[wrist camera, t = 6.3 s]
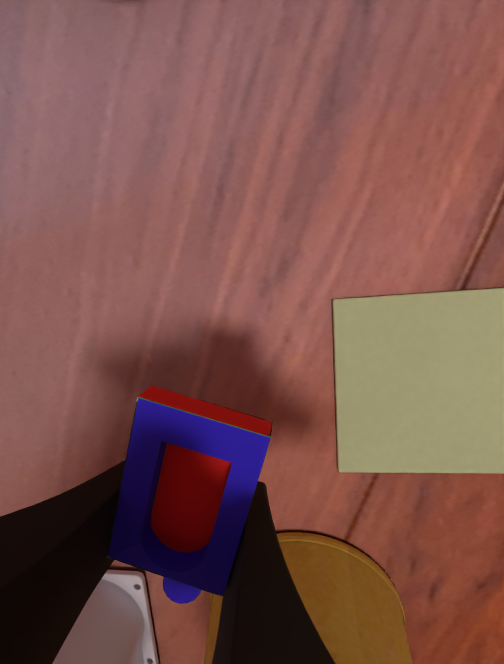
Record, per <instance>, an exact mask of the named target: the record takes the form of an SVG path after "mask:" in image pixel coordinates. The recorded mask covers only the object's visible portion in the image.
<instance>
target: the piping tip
mask: <svg viewBox="0 0 504 664" xmlns="http://www.w3.org/2000/svg"><path fill="white" fill-rule="evenodd" d="M277 538H278V541H279V544H280V547H281V550H282V553H283V556H284V559H285V561H286V564H287V567H288V569H289V572H290V574H291V577H292V579H293V582H294V584H295V586H296V589H297V591H298V593H299V595H300V597H301V600H302V602H303V604H304V606H305V608H306V610H307V612H308V614H309V616H310V618H311V620H312V622H313V624H314V625H315V627H316V629H317V631H318V633H319V635H320V637H321V639H322V641H323V643H324V644H325V646H326V648H327V650H328V651H329V653H330V655H331V656H332V658H333V660H334V662H335V663H336V664H412V659H411V654H410V650H409V645H408V640H407V635H406V631H405V629H406V628H405V615H404V609H403V606H402V603H401V600H400V597H399V595H398V593H397V590H396V588H395V587H394V585H393V583H392V582H391V580H390V579H389V577H388V576H387V575H386V573H385V572H384V571H383V570H382V569H381V568H380V567H379V566H378V565H377V564H376V563H375V562H374V561H373V560H371V559H370V558H369V557H368V556H366V555H365V554H363V553H362V552H360V551H359V550H357V549H355V548H354V547H352V546H350V545H348V544H346V543H343V542H341V541H338V540H336V539H333V538H330V537H326V536H322V535H317V534H311V533H300V532H288V533H278V534H277ZM222 599H223V597H221V596H219V595H216V594H213V593H211V594H210V618H209V626H208V634H207V642H206V650H205V658H204V664H212V659H213V655H214V650H215V645H216V639H217V633H218V627H219V620H220V613H221V606H222Z"/></svg>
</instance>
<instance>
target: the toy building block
mask: <svg viewBox="0 0 504 664" xmlns="http://www.w3.org/2000/svg"><path fill="white" fill-rule="evenodd" d="M272 423H273V422H272V421H269V420H265V419H262V418H259V417H255V416H252V415H249V414H245V413H242V412H239V411H235V410H232V409H229V408H225V407H222V406H219V405H215V404H212V403H209V402H205V401H202V400H199V399H195V398H192V397H189V396H185V395H182V394H179V393H175V392H172V391H168V390H165V389H162V388H158V387H155V386H150V387H149V388H148V389H147V390H145V391H144V392H143V393H142V394H140V395H139V396H138V397H137V402H136V408H135V413H134V418H133V423H132V429H131V434H130V439H129V444H128V449H127V455H126V460H125V465H124V470H123V476H122V481H121V486H120V491H119V496H118V502H117V507H116V512H115V517H114V523H113V528H112V533H111V538H110V543H109V549H108V554H107V557H108V558H111V559H114V560H117V561H120V562H123V563H126V564H129V565H132V566H134V567H137V568H140V569H143V570H146V571H149V572H152V573H155V574H158V575H161V576H163V577H164V579H163V589H164V591H165V593H166V595H167V597H168V598H170V599H171V600H172V601H173V602H176V603H179V604H182V603H189V602H191V601H193V600H195V599H196V598H197V597H198V596H199V594H200V592H201V590H204V591H207V592H210V593H213V594H216V595H219V596H221V597H223V595H224V592H225V589H226V585H227V582H228V579H229V575H230V572H231V569H232V565H233V562H234V559H235V555H236V552H237V549H238V545H239V542H240V539H241V535H242V532H243V528H244V525H245V522H246V518H247V515H248V512H249V508H250V505H251V502H252V498H253V495H254V492H255V488H256V485H257V482H258V478H259V475H260V472H261V468H262V465H263V462H264V458H265V455H266V452H267V448H268V445H269V442H270V438H271V432H272Z"/></svg>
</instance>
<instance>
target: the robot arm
mask: <svg viewBox="0 0 504 664" xmlns="http://www.w3.org/2000/svg"><path fill="white" fill-rule="evenodd" d="M124 465H125V460H124V461H122V462H121V463H119V464H117V465H116V466H114V467H112V468H110V469H108V470H107V471H105V472H103V473H101V474H100V475H98V476H96V477H94V478H92V479H90V480H88V481H86V482H84V483H82V484H80V485H78V486H76V487H75V488H72V489H70V490H68V491H66V492H64V493H62V494H60V495H57V496H55V497H52V498H50V499H48V500H45V501H43V502H40V503H38V504H35V505H32V506H30V507H27V508H24V509H21V510H18V511H15V512H13V513H10V514H7V515H4V516H1V517H0V664H159V661H158V655H157V649H156V643H155V637H154V631H153V625H152V619H151V613H150V606H149V600H148V594H147V588H146V582H145V577H144V574H143V573H142V572H139V571H126V570H108V568H109V567H110V565H111V564H112V562H113V561H114V559H111V558H108V557H107V554H108V549H109V543H110V538H111V533H112V528H113V523H114V517H115V512H116V507H117V502H118V496H119V491H120V486H121V481H122V476H123V470H124ZM212 664H336V663H335V662H334V660H333V658H332V656H331V655H330V653H329V651H328V650H327V648H326V646H325V644H324V643H323V641H322V639H321V637H320V635H319V633H318V631H317V629H316V627H315V625H314V624H313V622H312V620H311V618H310V616H309V614H308V612H307V610H306V608H305V606H304V604H303V602H302V600H301V597H300V595H299V593H298V591H297V589H296V586H295V584H294V582H293V579H292V577H291V574H290V572H289V569H288V567H287V564H286V561H285V559H284V556H283V553H282V550H281V547H280V544H279V541H278V538H277V534H276V531H275V527H274V523H273V520H272V516H271V511H270V507H269V502H268V496H267V489H266V485H265V483H262V482H259V481H258V482H257V485H256V488H255V492H254V495H253V498H252V502H251V505H250V508H249V512H248V515H247V518H246V522H245V525H244V528H243V532H242V535H241V539H240V542H239V545H238V549H237V552H236V555H235V559H234V562H233V565H232V569H231V572H230V575H229V579H228V582H227V585H226V589H225V592H224V595H223V599H222V606H221V613H220V620H219V627H218V633H217V639H216V645H215V650H214V655H213V659H212Z"/></svg>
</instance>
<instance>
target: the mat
mask: <svg viewBox="0 0 504 664" xmlns="http://www.w3.org/2000/svg"><path fill="white" fill-rule="evenodd" d="M332 307H333V338H334V369H335V401H336V432H337V463H338V472H381V473H504V288H489V289H474V290H460V291H445V292H430V293H415V294H401V295H386V296H371V297H357V298H342V299H332Z"/></svg>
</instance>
